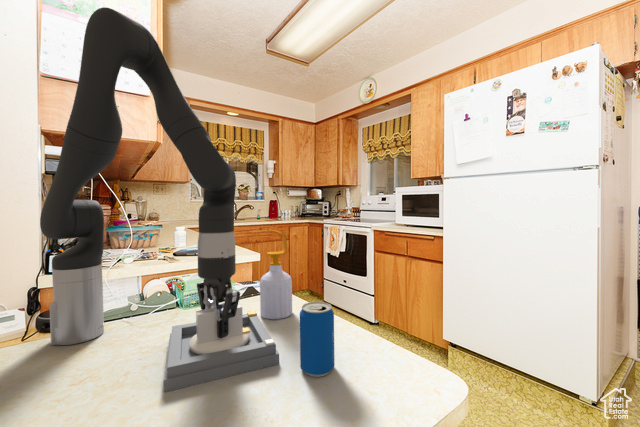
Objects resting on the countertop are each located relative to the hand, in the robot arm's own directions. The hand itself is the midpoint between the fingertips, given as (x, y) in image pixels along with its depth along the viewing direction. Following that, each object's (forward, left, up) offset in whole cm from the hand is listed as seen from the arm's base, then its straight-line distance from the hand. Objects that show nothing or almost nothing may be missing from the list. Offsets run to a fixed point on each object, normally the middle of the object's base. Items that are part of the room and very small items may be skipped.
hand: (217, 333), depth 62 cm
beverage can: (+17, -15, -4) cm, 23 cm away
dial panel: (+1, 0, -4) cm, 4 cm away
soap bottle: (+18, +16, -4) cm, 24 cm away
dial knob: (+1, 0, -2) cm, 2 cm away
